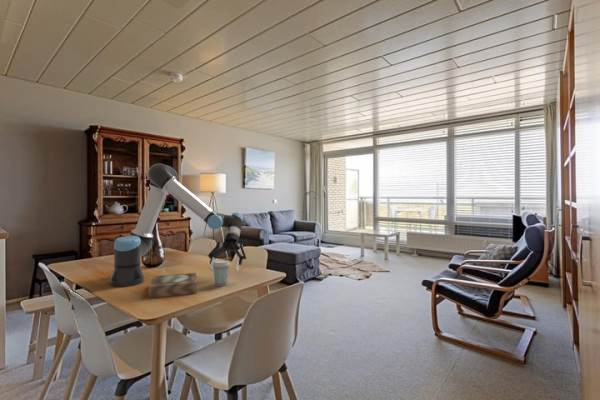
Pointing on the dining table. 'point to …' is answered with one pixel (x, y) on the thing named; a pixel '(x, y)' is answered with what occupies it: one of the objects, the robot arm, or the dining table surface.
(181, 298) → the dining table surface
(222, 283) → the coffee cup
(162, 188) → the robot arm
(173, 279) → the walnut plinth
